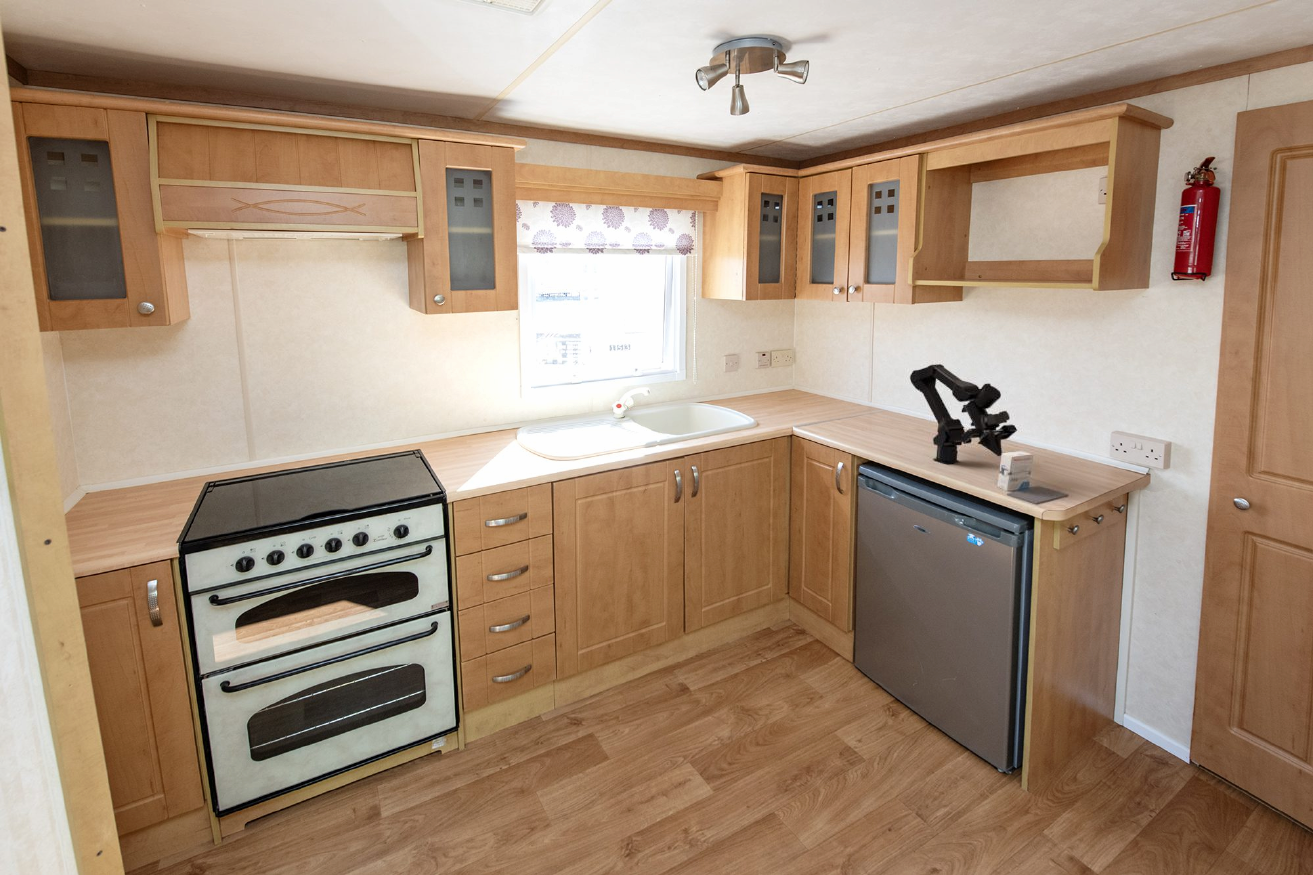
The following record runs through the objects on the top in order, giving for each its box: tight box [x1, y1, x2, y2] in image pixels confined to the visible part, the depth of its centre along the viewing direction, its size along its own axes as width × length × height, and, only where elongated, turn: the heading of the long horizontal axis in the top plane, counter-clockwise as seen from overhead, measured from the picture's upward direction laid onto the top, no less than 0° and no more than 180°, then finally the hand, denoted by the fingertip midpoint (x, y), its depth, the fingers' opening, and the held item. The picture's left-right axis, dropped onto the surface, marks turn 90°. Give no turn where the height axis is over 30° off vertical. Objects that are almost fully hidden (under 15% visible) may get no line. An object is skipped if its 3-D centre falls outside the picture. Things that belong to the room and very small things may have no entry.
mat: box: [1006, 485, 1069, 505], centre depth 230 cm, size 10×16×1 cm, turn 119°
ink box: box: [997, 450, 1034, 492], centre depth 235 cm, size 9×5×12 cm, turn 106°
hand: (1000, 455), depth 241 cm, fingers closed
